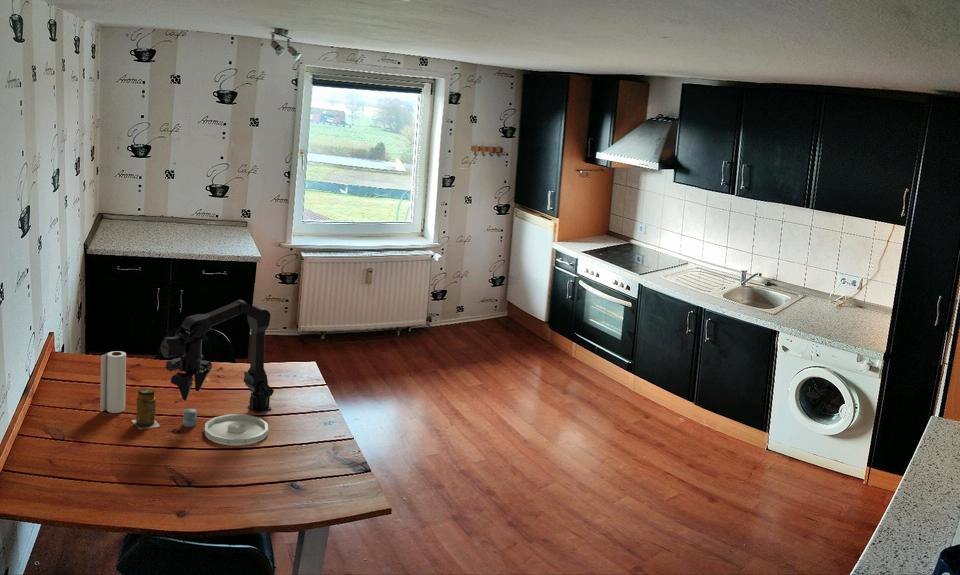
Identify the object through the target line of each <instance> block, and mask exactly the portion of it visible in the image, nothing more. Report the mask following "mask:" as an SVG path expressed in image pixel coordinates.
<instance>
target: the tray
mask: <svg viewBox="0 0 960 575" xmlns="http://www.w3.org/2000/svg"><path fill="white" fill-rule="evenodd" d="M268 434H269V424H268V422H266V421H265V420H264V419H262V418H261V417H259V416H254V415H250V414H246V413H245V414H244V413H242V414H241V413H238V414H236V413H235V414H234V413H232V414H230V413H228V414H224V415H220V416H215V417H212V418H210V419H209V420H208V421H206V422H205V423H204V436H205V437H206V439H208V440H209V441H211V442H213V443H216V444H219V445H223V446H232V447H233V446H236V447H238V446H239V447H241V446H248V445H253V444H257V443H260V442H261V441H263V440H264V439H265V438H266V437H267V436H268Z"/></svg>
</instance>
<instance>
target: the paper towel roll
mask: <svg viewBox="0 0 960 575" xmlns="http://www.w3.org/2000/svg"><path fill="white" fill-rule="evenodd" d="M126 368H127V353H126V352H125V351H121V350H119V351H118V350H116V351H114V350H113V351H110V352H106V353H105V354H102V355H100V398H99V400H100V404H99V405H100V407H99V410H100V413H101V412H104V411H107V412H108V413H111V414H120V413H123V412H124V411H125V409H126V380H127V379H126V378H127V376H126V375H127V369H126Z"/></svg>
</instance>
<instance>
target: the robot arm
mask: <svg viewBox="0 0 960 575" xmlns="http://www.w3.org/2000/svg"><path fill="white" fill-rule="evenodd" d="M241 314H244V315H246V318H247V323H248V325H249V328H250V330H251V331H250V332H251V334H250V335H251V336H250V365H249V366H250V367H249V368H248V370H247V371H244V372H243V375H244V378H243V382H244V384H245V386H246V387H247V388H248V391H249V392H251V393H250V397H249V405H247V408H249V409H250V410H252V411H253V412H255V413H256V414H257V413H262V412H266V411H270V410H272V407H270V399H271V397H272V396H273V394H274V389H273V388H272V387H271V386H270V385H269V381H268V374H267V373H266V370H265V349H266V348H265V345H266V344H265V342H266V341H265V340H266V331H267V329H268V328H269V326H270V322H271V313H270V312H269V311H268V310H267V309H265V308H263V307H260V306H259V305H250V304H249V303H247V302H246V301H244V300H242V299H237V300H235V301H234V302H231V303H229V304H227V305H224V306H221V307H219V308H216V309H215V310H212V311H210V312H207V313H200V314H199V313H197V314H196V313H195V314H192V315H188V316H186V317H184V319H183V321H182V323H181V325H180V326H179V328H178V329H177V331H176V332H175V336H167V337H164V338H163V341H162V342H161V344H160V352H161V355H162V357H163V358H164V359H167V358H173V359H171V360H170V359H169V360H167V361H166V362H165V367H164V368H165V369H166V370H167V371H168V372H172V371H176V370H178V372H177V373H175V374H174V375H172V376H171V377H170V384H173V385H174V386H177V387H178V390H179V392H180V395H181V399H182V400H183V401H187V400H188V397H189V395H190V392H191V390H192V387H193V381H194V387H195V392H200V389H201V388H202V387H203V384H204V382H205V381H206V379H207V377H208V375H209V373H211V371H212V369H213V364H212V362H211V361H208V360H205V359H204V358H205V357H204V356H205V355H204V354H202V351H203V350H202V346H203V341H208V340H209V338H208V337H207V336H206V335H205V333H207V332H208V331H210V330H211V328H212V327H213V326H215V325H218V324H220V323H222V322H225V321H227V320H229V319H231V318H234V317H237V316H239V315H241ZM187 333H188V334H187ZM178 356H179V357H178ZM175 357H177V358H175ZM203 359H204V360H203Z"/></svg>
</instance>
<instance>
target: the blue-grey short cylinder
mask: <svg viewBox="0 0 960 575" xmlns="http://www.w3.org/2000/svg"><path fill="white" fill-rule="evenodd" d="M197 414H198V411H197V409H195V408H185V409H184V410H183V414H182V415H183V417H182V418H183V419H182V421H183V422H182V425H183V427H186V428H194V427H196V426H197V416H198V415H197Z"/></svg>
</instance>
